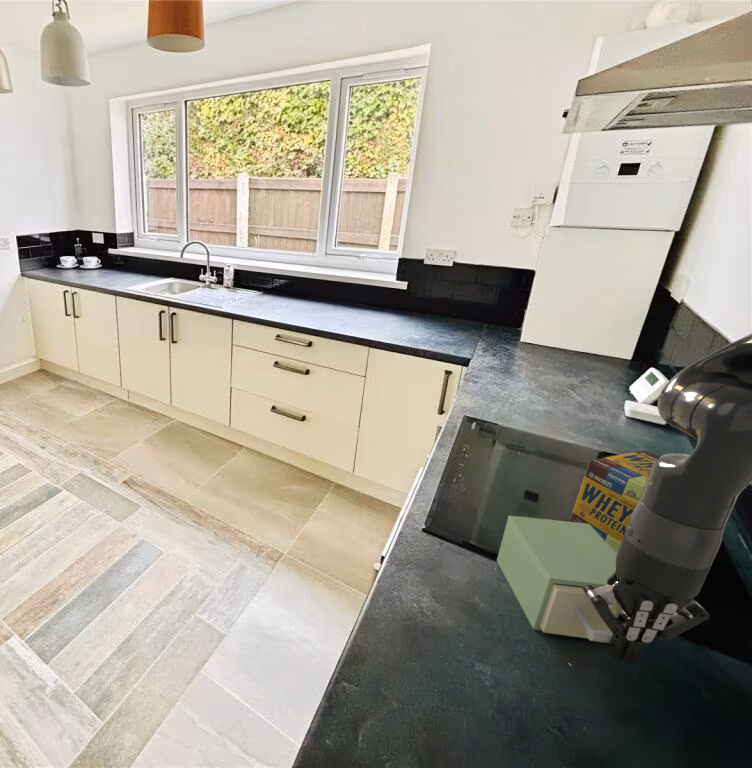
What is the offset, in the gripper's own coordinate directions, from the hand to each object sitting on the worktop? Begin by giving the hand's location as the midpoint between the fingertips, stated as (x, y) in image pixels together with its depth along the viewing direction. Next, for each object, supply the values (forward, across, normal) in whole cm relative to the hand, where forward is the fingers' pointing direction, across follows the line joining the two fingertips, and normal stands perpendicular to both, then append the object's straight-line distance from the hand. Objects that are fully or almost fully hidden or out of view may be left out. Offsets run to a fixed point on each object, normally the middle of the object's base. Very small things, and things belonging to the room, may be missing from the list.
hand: (622, 656), depth 58 cm
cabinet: (+5, 0, +15) cm, 15 cm away
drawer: (+4, 0, +10) cm, 11 cm away
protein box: (+5, +20, +33) cm, 38 cm away
